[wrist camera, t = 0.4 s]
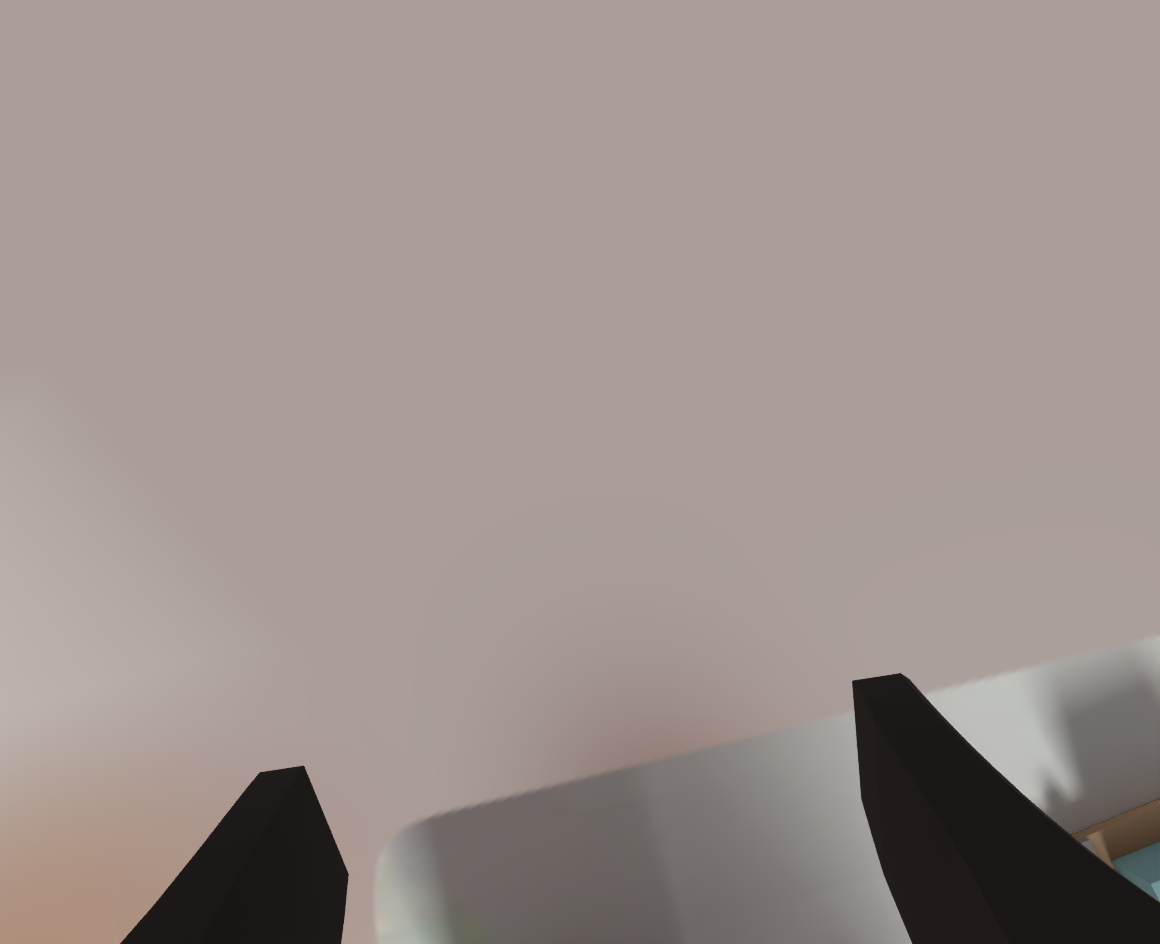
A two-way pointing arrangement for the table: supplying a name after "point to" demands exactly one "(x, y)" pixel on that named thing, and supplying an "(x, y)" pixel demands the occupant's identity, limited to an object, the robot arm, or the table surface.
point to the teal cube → (1142, 869)
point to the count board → (1123, 833)
